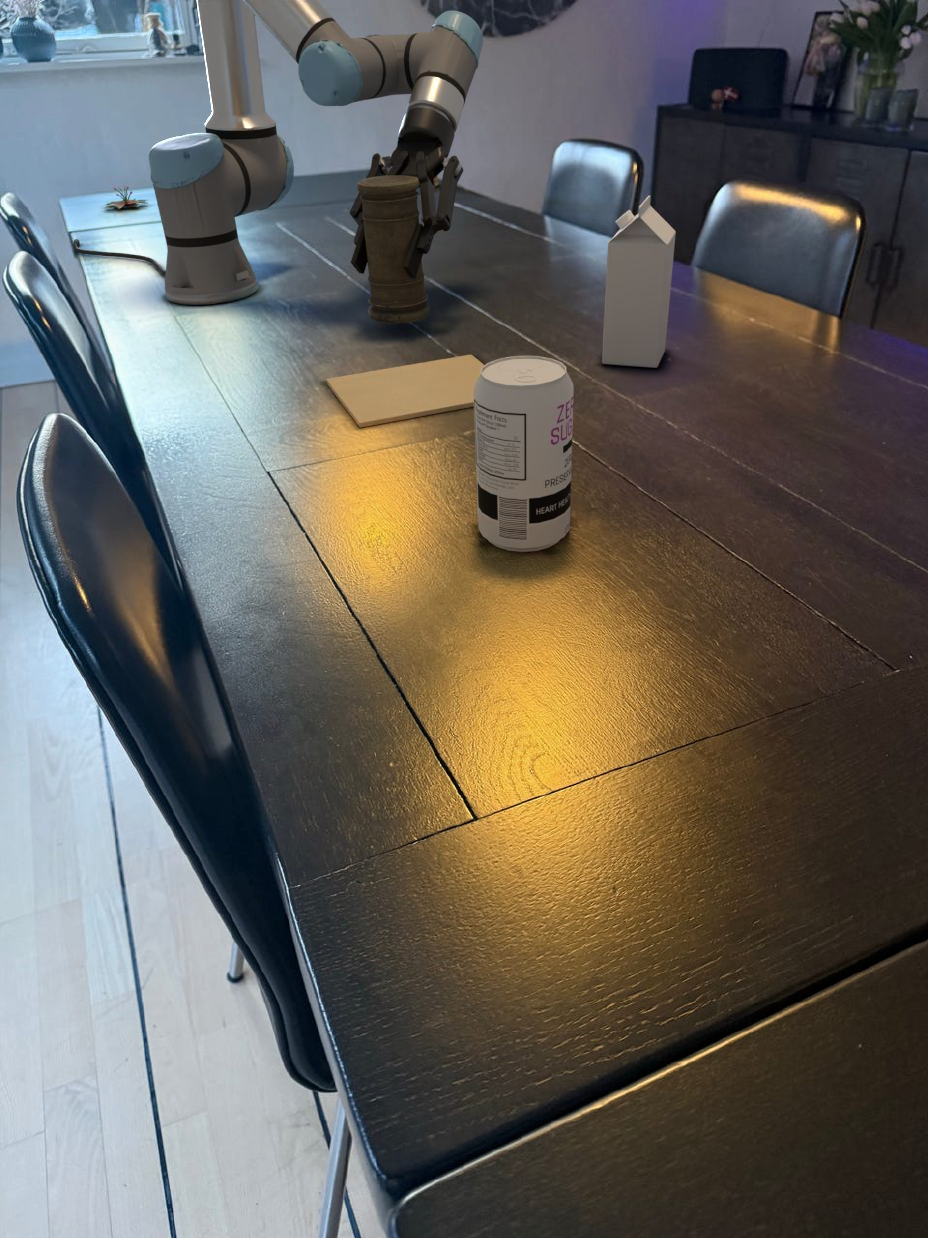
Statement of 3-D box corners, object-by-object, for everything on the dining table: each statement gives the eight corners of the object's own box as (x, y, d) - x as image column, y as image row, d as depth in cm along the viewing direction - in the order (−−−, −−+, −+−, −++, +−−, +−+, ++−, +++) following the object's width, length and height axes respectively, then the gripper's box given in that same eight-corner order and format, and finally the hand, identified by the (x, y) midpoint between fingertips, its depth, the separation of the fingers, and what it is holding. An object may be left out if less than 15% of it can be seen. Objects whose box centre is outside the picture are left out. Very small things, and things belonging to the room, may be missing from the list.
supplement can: (474, 514, 84) (468, 356, 75) (561, 507, 84) (565, 350, 76) (483, 559, 77) (477, 391, 69) (577, 551, 78) (583, 383, 69)
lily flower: (143, 210, 218) (138, 190, 216) (94, 212, 219) (89, 192, 216) (157, 201, 228) (153, 181, 225) (111, 203, 228) (106, 183, 226)
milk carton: (665, 351, 119) (679, 195, 108) (656, 369, 114) (670, 207, 103) (612, 347, 121) (620, 194, 110) (601, 365, 116) (609, 206, 105)
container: (422, 324, 126) (412, 185, 116) (361, 323, 128) (346, 185, 118) (436, 306, 134) (428, 173, 123) (378, 305, 135) (365, 174, 125)
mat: (326, 383, 114) (325, 378, 114) (471, 358, 120) (471, 354, 120) (359, 427, 102) (359, 422, 102) (520, 397, 108) (520, 393, 107)
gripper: (504, 142, 126) (458, 290, 124) (379, 140, 134) (333, 279, 132) (487, 104, 119) (438, 259, 117) (356, 103, 127) (308, 249, 125)
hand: (382, 270), depth 124 cm, fingers closed on container, 8 cm apart
